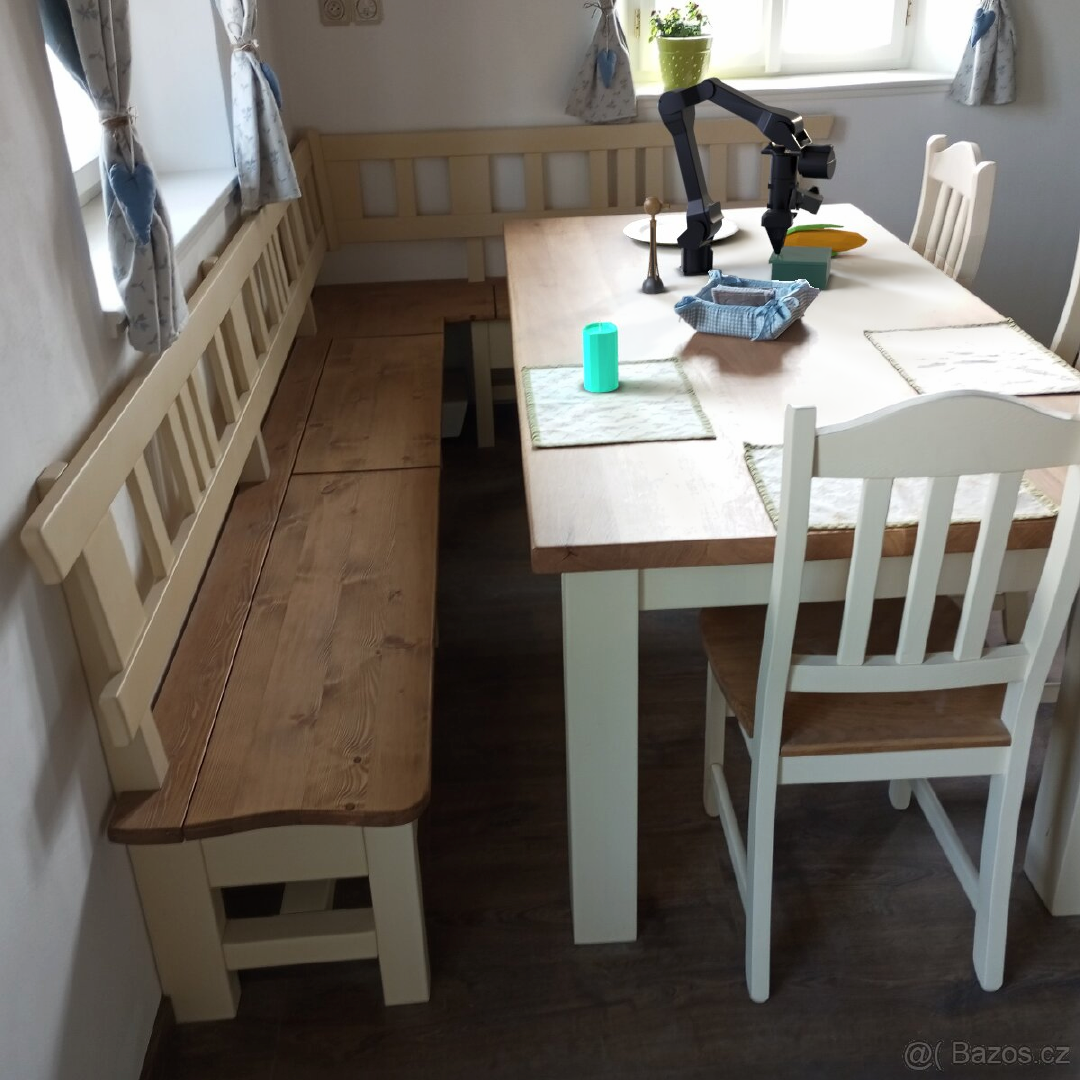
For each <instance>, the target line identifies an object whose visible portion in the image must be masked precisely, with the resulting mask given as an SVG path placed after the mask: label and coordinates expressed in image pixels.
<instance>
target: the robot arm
mask: <svg viewBox="0 0 1080 1080" xmlns="http://www.w3.org/2000/svg"><path fill="white" fill-rule="evenodd" d="M706 101H708V102H711V103H713V104H715V105H717V106H719V107H720V108H722V109H724V110H726V111H728V112H730V113H732V114H734V115H736V116H737V117H739V118H741V119H743V120H745V121H747V122H748V123H751V124H752V125H754V126H755V127H756V128H757V130H759V132H761V134H762V135H763V136H764V137H766V138H767V139H768V140H769V142H768V143H767V145H766V146H765V147H764V148H763V149H761V150H760V154H761V155H768V156H769V155H770V161H769V178H768V179H769V180H768V181H769V182H768V183H767V189H768V198H767V203H766V211H765V212H763V214H762V215H761V221H760V227H762V228H764V229H765V232H766V234H767V237H768V239H769V242H770V244H771V248H772V251H773V250H774V253H775V254H780V253H781V249H782V248H783V246H784V242H785V239H786V235H787V231H788V230H789V229H790V228H793V227H792V226H793V225H794V219H796V217H797V216H798V212H797V211H800V210H803V211H806V212H808V213H809V214H811V215H815V216H816V215H817V214H818V212H819V210H820V208H821V205H822V204H823V201H824V198H825V197H824V196H823V195H822V194H821V191H820V187H819V186H816V185H812V186H810V187H809V188H808V189H807V188H802V187H800V181H799V179H798V175H800V176H801V177H802V179H812V180H813V179H815V180H832V179H833V177H834V174H835V172H836V167H837V159H836V153H835V149H834V146H835V145H834V144H833V143H832V144H831V143H826V144H825V143H824V144H814V143H813V140H812V138H811V137H810V136H809V134H808V132H807V130H806V129H805V127H804V125H805V124H804V120H803V117H802V116H801V114H800V113H798V112H796V111H793V110H790V109H786V108H783V107H777V106H771V105H768V104H765V103H763V102H761V101H760V100H758V99H755V98H754V97H752V96H751V95H748V94H746V93H745V92H742V91H740V90H738V89H736V88H734V87H733V86H731V85H729V84H727V83H725V82H723V81H722V80H721V79H720V78H718V77H715V76H714V77H708V78H706V79H704V80H702V81H701V82H699V83H697V84H694V85H692V86H689V87H688V88H687V87H677V88H674V89H671V90H670V89H669V90H667V91H664V92H663V93H662V94H661V95H660V97H659V99H658V101H657V110H658V114H659V116H660V119H661V121H662V123H663V126H664V127H665V128H666V129H667V131H668V132H669V133H670V135H671V137H672V141H673V145H674V149H675V153H676V158H677V161H678V165H679V170H680V174H681V179H682V183H683V185H684V186H683V187H684V190H685V191H684V192H685V196H686V199H687V205H686V211H685V212H686V214H685V215H686V223H687V229H686V230H685V231H684V232H683V233H682V234H681V235H680V236H679V237H678V238H677V242H678V248H679V249H680V266H679V270H680V272H681V274H682V275H683V276H696V275H697V276H699V275H709V274H708V271H709V270H711V271H712V270H713V268H714V251H713V249H712V244H711V242H710V241H712V242H714V241H713V239H714V236H715V234H717V233H718V232H719V231H720V229H721V227H722V219H725V216H724V214H723V211H722V206H721V201H720V200H719V199H718V200H716V201H714V200H713V199H712V197H711V196H710V195H709V190H708V187H707V182H706V178H705V173H704V169H703V165H702V160H701V156H700V152H699V147H698V144H697V139H696V135H695V130H694V127H695V119H696V106H697V105H699V104H702V103H703V102H706ZM793 211H795V212H793Z"/></svg>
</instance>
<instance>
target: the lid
mask: <svg viewBox="0 0 1080 1080" xmlns="http://www.w3.org/2000/svg"><path fill="white" fill-rule="evenodd" d="M831 251H832V247H797V246H783V248H782V249H781V253H780V254H775V253H774V250H773V249H772V252H771V255H770V257H769V259H768V261H767V262H768V265H772V264H794V265H825V266H827V264H828V260H829V257H830V254H831Z"/></svg>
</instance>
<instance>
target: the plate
mask: <svg viewBox="0 0 1080 1080" xmlns="http://www.w3.org/2000/svg"><path fill="white" fill-rule="evenodd" d="M649 220H651V217H649V218H645V219H641V220H636V221H634V222H632V223H631V222H630V224H628V225H627V226H625V227H624V229H623V233H624V235H625V236H626V237H628V238H630V239H632V240H635V241H638V242H643V243H648V244H650V221H649ZM655 220H657V221H656V245H659V246H678V242H677V238H678V237H679V236H680V235H681V234H682V233H683V232H684V231H685V230H686V229H687V223H686V214H683V215H682V214H679V215H678V214H677V215H663V216H655ZM737 232H739V225H737V224H736V222H734V221H731V220H729V219H726V218H723V219H722V227H721V229H720V231H719V232H718V233H717V234H715V236H714V239H713V241H710V242H709V243H712V242H716V241H720V240H724V239H727V238H729V237H732V236H734V235H735V234H737ZM678 247H679V246H678Z"/></svg>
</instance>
